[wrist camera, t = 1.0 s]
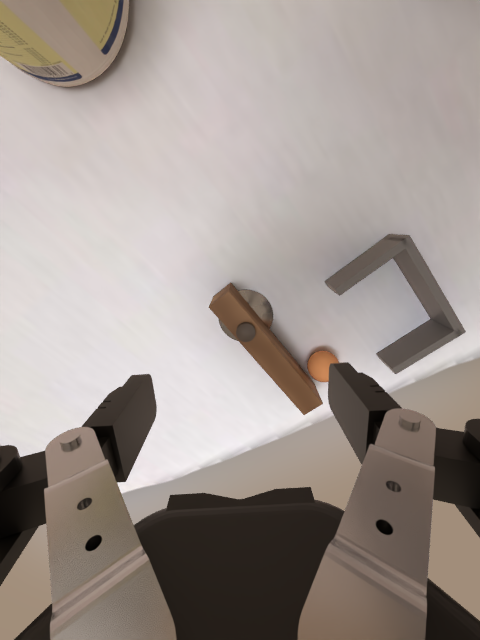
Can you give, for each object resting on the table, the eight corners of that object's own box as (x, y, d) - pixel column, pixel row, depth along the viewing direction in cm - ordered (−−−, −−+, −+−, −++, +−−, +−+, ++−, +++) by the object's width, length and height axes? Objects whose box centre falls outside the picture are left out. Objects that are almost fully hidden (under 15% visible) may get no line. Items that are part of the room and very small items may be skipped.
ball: (323, 340, 31) (332, 353, 27) (339, 361, 31) (350, 376, 28) (298, 357, 31) (304, 372, 28) (315, 376, 32) (322, 393, 29)
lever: (230, 282, 28) (228, 292, 24) (313, 382, 32) (324, 407, 28) (213, 296, 29) (207, 309, 24) (297, 393, 33) (305, 419, 28)
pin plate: (250, 278, 28) (250, 278, 28) (283, 320, 30) (283, 320, 30) (207, 312, 30) (207, 313, 30) (241, 350, 31) (241, 351, 31)
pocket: (389, 234, 27) (409, 235, 23) (441, 320, 30) (465, 331, 26) (324, 281, 28) (334, 289, 25) (379, 358, 31) (395, 374, 28)
